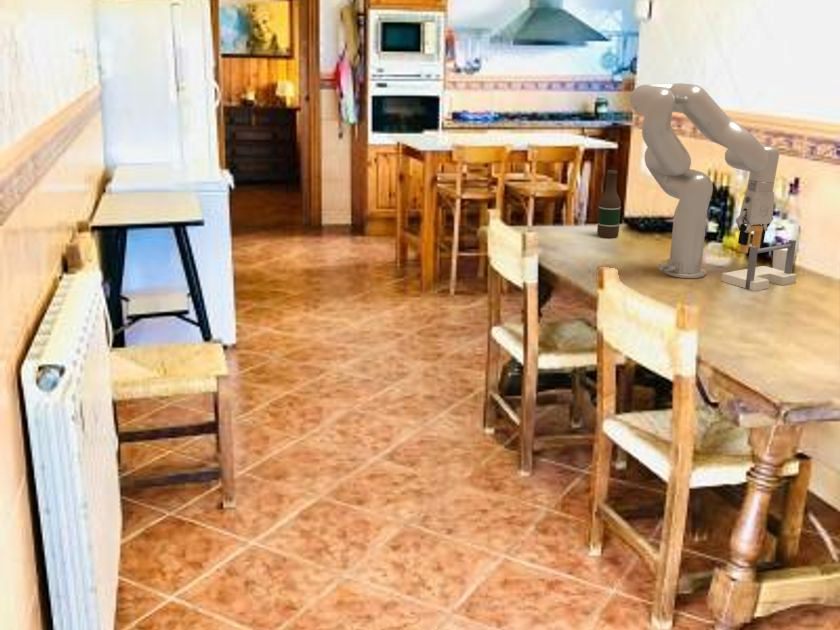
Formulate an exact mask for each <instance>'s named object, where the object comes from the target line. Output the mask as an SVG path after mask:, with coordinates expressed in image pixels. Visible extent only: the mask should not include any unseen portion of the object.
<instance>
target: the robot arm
mask: <svg viewBox="0 0 840 630" xmlns="http://www.w3.org/2000/svg"><path fill="white" fill-rule="evenodd" d="M628 100H629V105H630V107H631V110H633V112H635V113H636V114H638V115H642V116H643V115H644V116H643V120H642V125H641V126H642V127H641V136H642V140H643V141H644V143H645V145H646V150H645V153H644V157H643V159H644V163H645V166H646V167H647V170H648V171H649V172H650V174H651V175H652V177H653V178H654V180H655V181H656V183H657V184H658V186H660V188H661V189H662V190H663V192H664V193H665V194H666V195H668V196H669V197H671V198H673V199H674V198H675V199H678V200H679V201H678V203H677V206H676V207H675V209H674V214H673V220H672V233H671V242H670V243H671V245H670V255H669V258H667V260H666V262H665V263H660V264H658V266H657V268H658V270H660V271H663V273H664V274H666V275H667V276H669V277H675V278H682V279H699V278H702V277H705V276H706V275H707V270H706V269H705V268H702V265H703V264H702V263H703V255H704V245H705V236H706V235H705V234H706V226H707V216H708V209H709V205H710V201H711V198H712V196H713V190H714V185H713V181H712V179H711V178H710V177H709V176H708V175H707V174H706V173H704V172H702V171H699V170H697V169H696V170H695V169H691V165H692V158H691V156H690V153H689V151H688V149H686V147H685V146H684V144H683V143H682V142H681V140H680V138H679V137H678V136H677V134H676V132H675V131H674V129H673V127H672V123H671V121H672V115H673V113H680V114H683V115H684V116H685V117H686V118H687V119H688V120H689V121H690V122H691V123H692V124H693V126H694V127H695V128H696V129H697V130H698V131H699V132H700V133H701V134H702V135H703V137H704V138H707V140H709V141H711V142H713V143H715V144H717V145H718V146H719V145H720V146H722V147H723V148H725V149H726V151H725V153H724V160H725V162H726V164H727V165H728V166H729V167H731V168H733V169H737V170H741V171H746V172H749V175H748V180H747V186H746V190H745V194H744V196H743V198H742V199H743V200H742V203H741V208H740V214H739V215H738V217H736V218H735V223H736V225H737V228H738V232H739V235H738V240H737V243H738V244H739V245H741V244H742V245H747V244H748V238H749V233H748V231H749V229H750V227H751V225H763V232H762V237H761V243H760V245H763V244H764V243H765V237H766V232H767V231H768V228H769V227H770V225H771V223H772V221H774V217H773V216H774V215H773V214H774V207H775V192H774V187H775V180H776V176H777V168H778V163H779V160H780V153H781V152H780V149H779V148H778V147H777V146H773V145H763V144H762V143H761V142H760V141H759V140H758V138H756V136H754V135H753V134H752V133H751V132H749V131H748V130H747V129H746V128H745V127H743V126H742V125H740V124H739V123H738V122H737V121H735V120H734V119H732V118H731V117H730V116H728V115H727V113H726V112H725V111H724V110H723V109H722V108H721V106H720V105H718V103H717V102H716V101H715V100H714V99H713V97H711V96H710V94H709V93H708V92H707V90H706V89H704V87H702V86H700V85H697V84H694V83H693V84H691V83H663V84H661V83H660V84H658V83H657V84H652V83H651V84H641V85H638V86H637V87H634V89H632V91H631V93H630V96H629V99H628ZM745 225H747V226H746V227H745Z"/></svg>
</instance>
